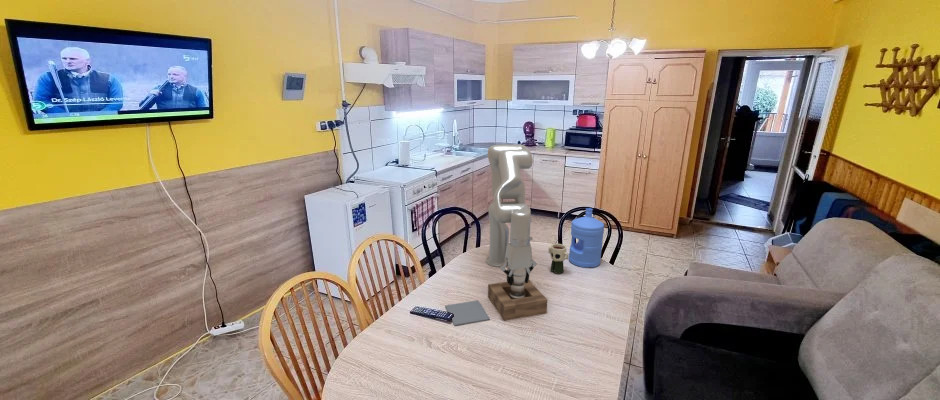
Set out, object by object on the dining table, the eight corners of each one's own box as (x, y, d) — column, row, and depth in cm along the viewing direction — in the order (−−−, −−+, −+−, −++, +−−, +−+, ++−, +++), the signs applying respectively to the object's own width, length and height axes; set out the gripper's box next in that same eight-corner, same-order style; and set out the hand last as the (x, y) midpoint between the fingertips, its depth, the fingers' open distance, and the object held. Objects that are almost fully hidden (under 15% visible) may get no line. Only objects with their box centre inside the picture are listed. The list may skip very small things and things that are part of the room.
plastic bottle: (524, 308, 158) (527, 263, 153) (507, 306, 160) (509, 261, 154) (525, 300, 164) (528, 256, 159) (509, 298, 166) (511, 254, 160)
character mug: (543, 270, 193) (544, 245, 189) (551, 265, 198) (553, 241, 194) (562, 277, 185) (564, 252, 182) (570, 273, 190) (573, 247, 186)
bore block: (487, 297, 168) (488, 284, 166) (526, 291, 173) (527, 278, 172) (504, 320, 152) (504, 306, 150) (546, 313, 157) (547, 299, 155)
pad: (445, 306, 161) (445, 305, 160) (478, 301, 165) (478, 300, 164) (454, 326, 148) (454, 324, 148) (489, 319, 152) (490, 318, 152)
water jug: (596, 255, 209) (602, 204, 201) (603, 269, 194) (609, 214, 186) (566, 254, 211) (570, 203, 203) (570, 267, 196) (575, 213, 188)
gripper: (535, 235, 160) (533, 275, 165) (495, 239, 155) (494, 281, 160) (544, 242, 153) (541, 284, 158) (502, 247, 148) (501, 290, 153)
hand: (517, 282), depth 159 cm, fingers closed on plastic bottle, 6 cm apart
